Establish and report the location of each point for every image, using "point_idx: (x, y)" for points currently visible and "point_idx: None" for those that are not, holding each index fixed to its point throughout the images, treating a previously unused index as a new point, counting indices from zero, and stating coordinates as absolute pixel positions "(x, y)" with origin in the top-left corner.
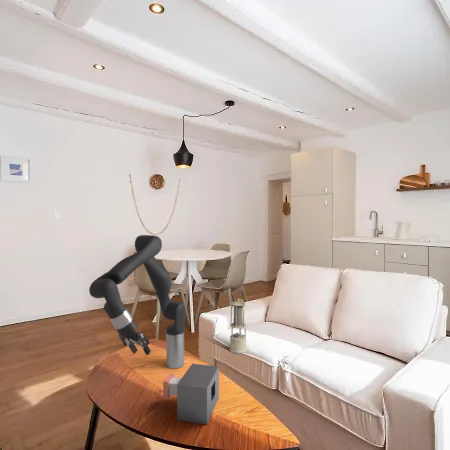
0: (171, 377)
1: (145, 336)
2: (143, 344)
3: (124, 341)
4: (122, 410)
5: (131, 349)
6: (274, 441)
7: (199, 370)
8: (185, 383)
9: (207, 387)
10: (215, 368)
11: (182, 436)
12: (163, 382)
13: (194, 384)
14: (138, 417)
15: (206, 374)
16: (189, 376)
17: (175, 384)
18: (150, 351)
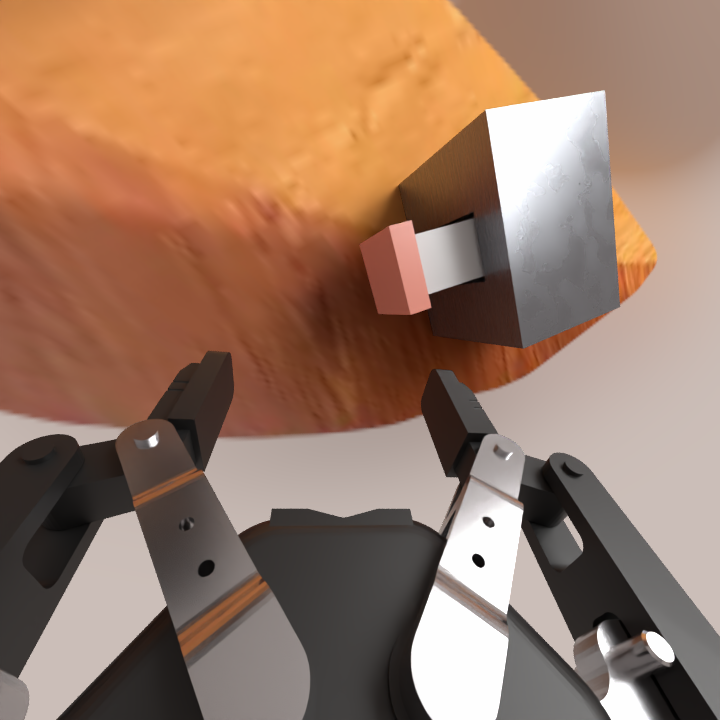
0: (420, 260)
1: (688, 607)
2: (553, 552)
3: (63, 578)
4: (242, 400)
5: (213, 442)
6: (633, 281)
7: (548, 176)
8: (546, 320)
9: (618, 298)
10: (599, 120)
11: (477, 379)
12: (409, 314)
13: (576, 306)
14: (324, 393)
15: (585, 201)
16: (534, 257)
17: (449, 286)
18: (462, 386)
